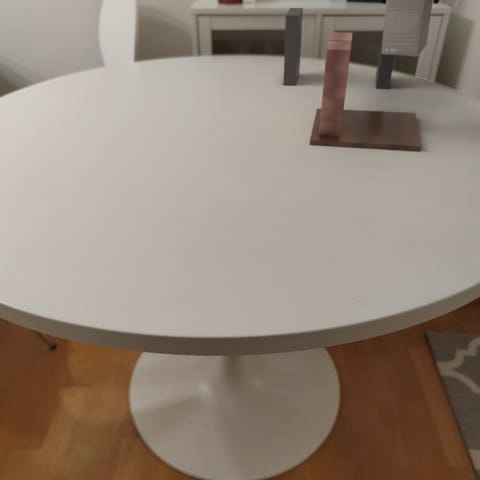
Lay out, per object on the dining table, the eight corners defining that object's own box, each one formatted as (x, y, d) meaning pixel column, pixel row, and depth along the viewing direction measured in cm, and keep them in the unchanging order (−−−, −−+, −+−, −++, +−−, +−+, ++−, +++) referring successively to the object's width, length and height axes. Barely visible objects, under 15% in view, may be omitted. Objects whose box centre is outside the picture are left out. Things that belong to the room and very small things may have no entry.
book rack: (414, 117, 94) (433, 30, 84) (420, 151, 82) (444, 55, 72) (316, 112, 98) (323, 29, 87) (309, 144, 86) (316, 52, 75)
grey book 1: (299, 75, 117) (302, 7, 107) (295, 85, 111) (299, 15, 101) (287, 74, 117) (290, 7, 108) (283, 85, 112) (285, 15, 102)
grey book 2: (387, 78, 113) (400, 8, 103) (388, 89, 107) (402, 16, 97) (375, 77, 114) (386, 8, 104) (375, 88, 108) (387, 16, 98)
